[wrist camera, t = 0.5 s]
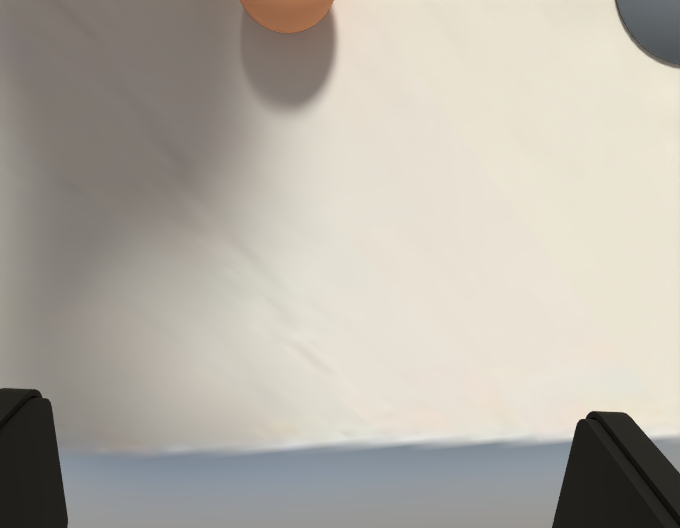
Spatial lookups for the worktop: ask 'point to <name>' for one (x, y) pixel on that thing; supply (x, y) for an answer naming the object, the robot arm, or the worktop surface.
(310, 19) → the ball
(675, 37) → the disc
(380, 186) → the worktop surface
